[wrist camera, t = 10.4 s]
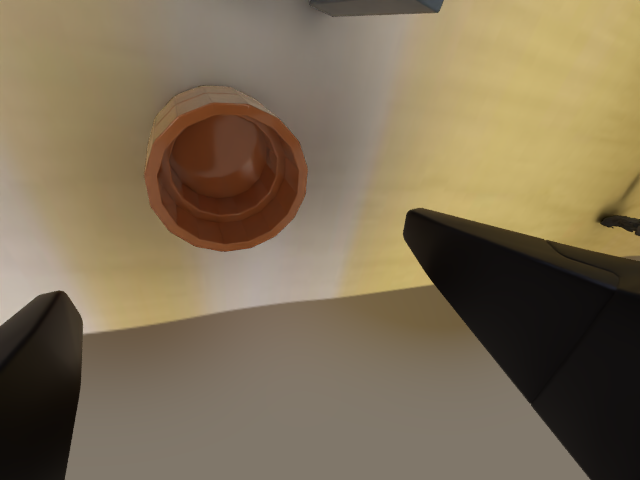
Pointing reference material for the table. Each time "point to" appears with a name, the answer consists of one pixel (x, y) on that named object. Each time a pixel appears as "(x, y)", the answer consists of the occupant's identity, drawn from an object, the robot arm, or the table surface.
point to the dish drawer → (376, 7)
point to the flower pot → (223, 169)
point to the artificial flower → (623, 223)
